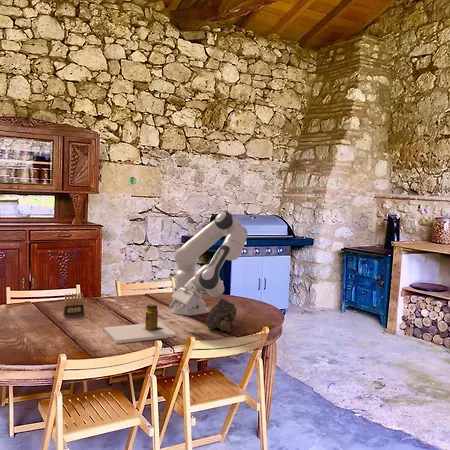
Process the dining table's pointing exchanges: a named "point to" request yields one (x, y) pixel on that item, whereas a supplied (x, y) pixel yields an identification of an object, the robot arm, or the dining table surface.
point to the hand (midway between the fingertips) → (173, 309)
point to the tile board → (137, 333)
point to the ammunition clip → (73, 305)
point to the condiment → (151, 318)
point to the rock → (222, 316)
